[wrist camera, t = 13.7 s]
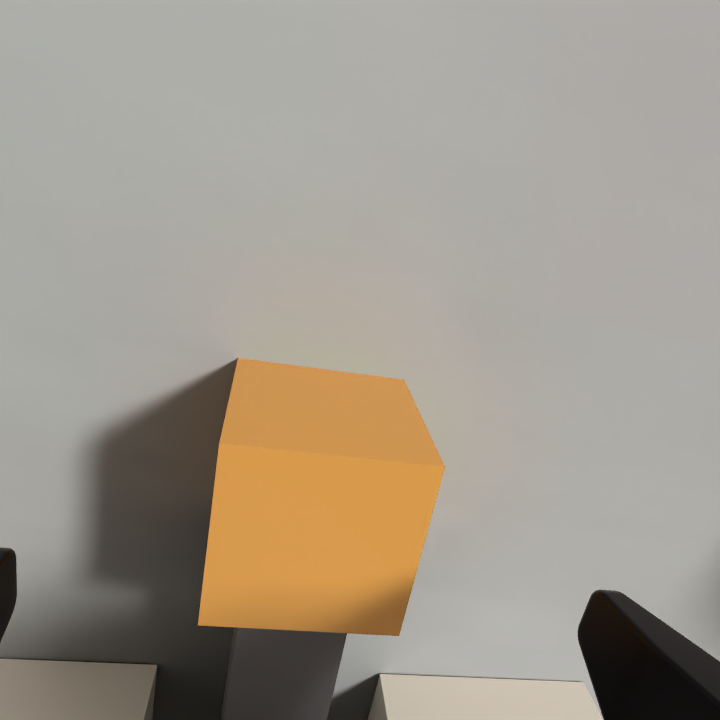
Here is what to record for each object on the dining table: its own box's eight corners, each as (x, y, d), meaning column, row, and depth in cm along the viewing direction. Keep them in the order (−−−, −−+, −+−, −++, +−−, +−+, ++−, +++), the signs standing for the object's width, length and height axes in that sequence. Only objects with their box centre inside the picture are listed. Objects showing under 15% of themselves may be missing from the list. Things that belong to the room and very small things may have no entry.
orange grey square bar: (308, 792, 19) (313, 948, 16) (184, 791, 19) (159, 955, 15) (404, 379, 14) (444, 466, 10) (238, 357, 13) (218, 443, 10)
